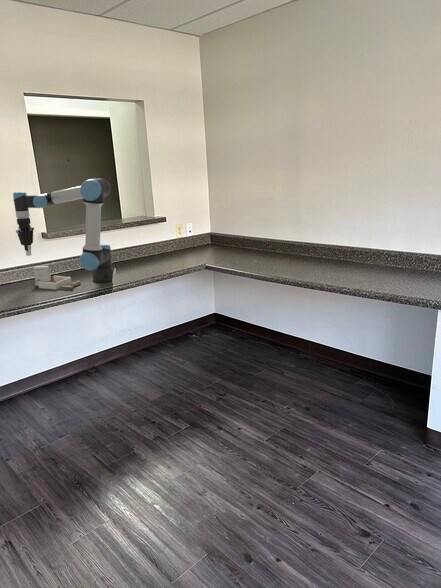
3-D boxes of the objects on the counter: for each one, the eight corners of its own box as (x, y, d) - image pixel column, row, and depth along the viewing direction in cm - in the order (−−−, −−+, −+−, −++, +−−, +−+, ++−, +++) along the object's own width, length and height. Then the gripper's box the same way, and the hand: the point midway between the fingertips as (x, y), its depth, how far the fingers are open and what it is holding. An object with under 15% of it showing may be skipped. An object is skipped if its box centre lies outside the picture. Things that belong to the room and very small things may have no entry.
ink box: (51, 283, 284) (49, 265, 281) (49, 285, 280) (47, 267, 276) (38, 283, 284) (35, 265, 280) (35, 285, 279) (32, 267, 276)
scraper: (74, 283, 282) (73, 280, 281) (84, 284, 279) (84, 281, 278) (60, 289, 270) (60, 285, 270) (71, 290, 268) (70, 286, 267)
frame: (71, 283, 283) (71, 277, 282) (56, 289, 270) (55, 283, 269) (55, 281, 287) (54, 275, 286) (38, 287, 274) (38, 281, 273)
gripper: (26, 216, 279) (31, 252, 286) (10, 219, 268) (16, 257, 275) (35, 216, 277) (41, 253, 284) (19, 219, 265) (25, 258, 272)
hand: (28, 255), depth 279 cm, fingers closed
